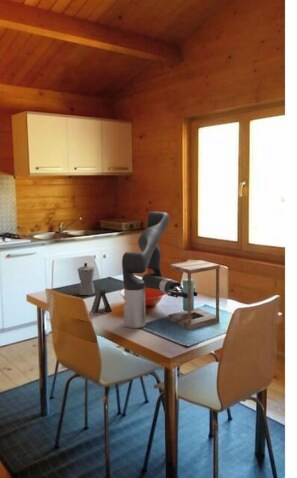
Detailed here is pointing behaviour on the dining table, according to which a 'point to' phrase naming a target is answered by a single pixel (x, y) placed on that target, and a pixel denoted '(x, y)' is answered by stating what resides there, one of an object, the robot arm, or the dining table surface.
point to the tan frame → (185, 316)
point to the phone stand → (97, 302)
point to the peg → (185, 290)
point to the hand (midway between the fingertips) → (191, 295)
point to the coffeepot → (86, 280)
